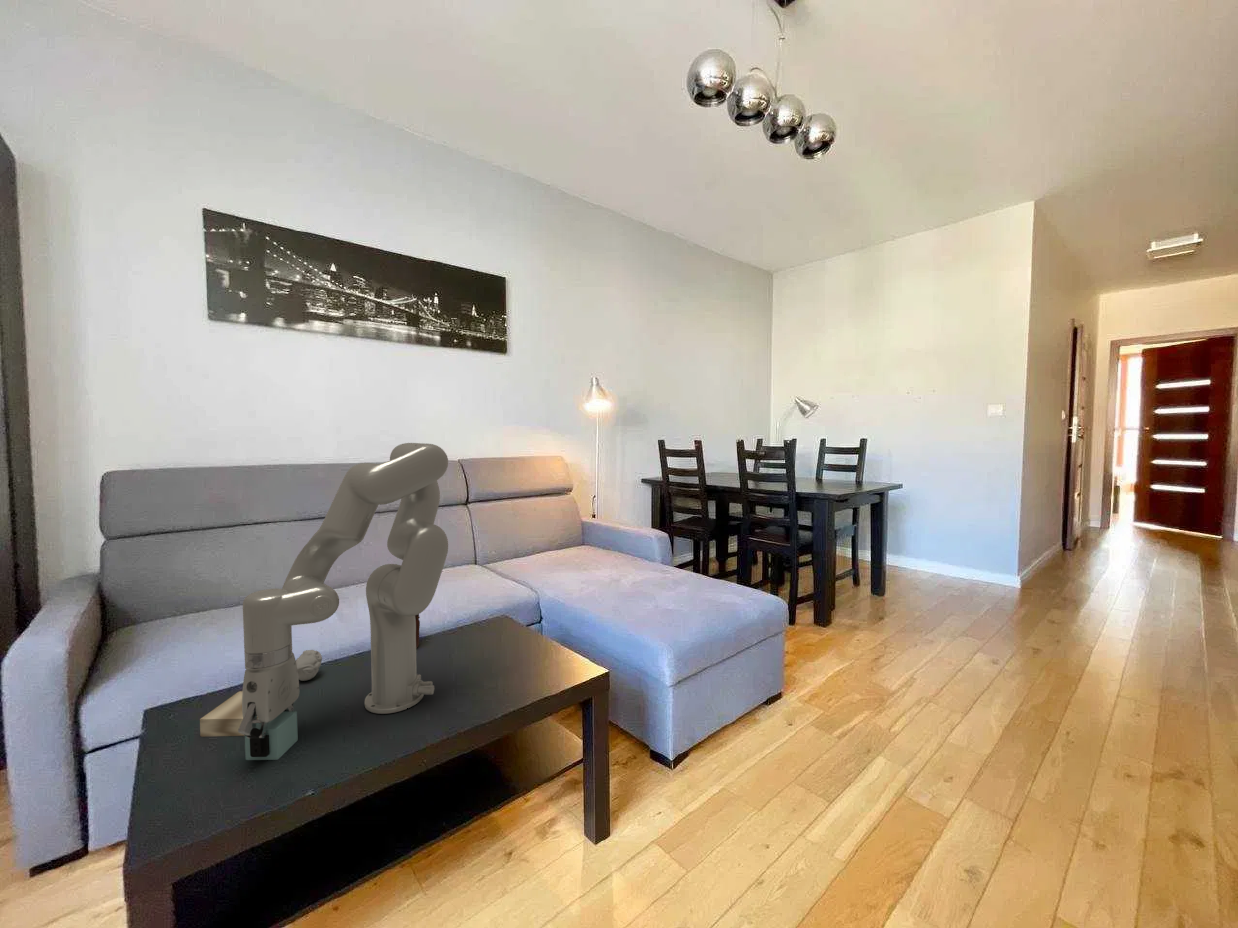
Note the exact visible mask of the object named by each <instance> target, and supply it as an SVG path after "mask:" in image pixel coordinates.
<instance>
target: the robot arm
mask: <svg viewBox="0 0 1238 928" xmlns="http://www.w3.org/2000/svg"><path fill="white" fill-rule="evenodd" d="M448 466H449V458H448V455H447V453H446V452H445V450H444V449H443V448H442V447H440V446H439V445H436V444H433V443H423V442H422V443H420V442H419V443H418V442H405V443H401V444H398V445H397V446H395V447H394V448H393V449H392V450H391V452H390V455H389V460H388V461H385V462H381V463H373V462H371V463H370V462H361V463H357V464H355V465H352V466H351V467H350V468H349V469H348V470H347V471H346V473H345V475H344V477H343V479H342V481H341V483H340V485H339V487H338V490H336V491H337V492H336V494H335V495H334V497H333V500H332V502H331V503H330V506H329V508H328V511H327V513H326V515H325V517H324V519H323V521H322V523H321V525H320V526H319V528H318V530H317V531H316V532H315V533H314V534H313V535H312V536H311V538H310V539H309V540H308V542H307V543H306V544H305V545H304V547H302V548H301V550H300V551H299V553H298V555H297V556H296V558H295V560H294V562H293V563H292V565H291V567H290V569H289V572H288V574H287V576H286V578H285V580H284V582H283V585H282V588H265V589H261V590H258V591H254V592H251V593H250V594H248V595H246V596H245V597H244V598H243V601H242V623H243V624H242V625H243V626H242V627H243V650H244V653H243V654H244V669H245V670H244V675H243V681H242V682H243V683H242V691H243V693H242V713H243V720H242V722H241V725H240V727H239V729H238V732H239V733H241V734H244V735H245V736H247V738H250V756H251V757H267V756H268V755H269V735H266V732H267V727H268V722H271V721H272V720H274V719H275V718H276V717H277V716H278V715H280V714H281V713H282V712H283V711H294V704H295V702H296V701H297V700H298V698H299V697H300V681H299V679H298V670H297V664H296V660H297V659H296V657H295V654H294V652H293V631H292V629H293V628H292V626H298V625H299V626H300V625H308V624H316V623H320V622H323V621H326V620H328V619H329V618H330V617H332V616H333V615H334V614H335V613H336V611H338V608H339V605H340V598H339V594H338V593H337V591H336V590H335V589H334V588H332V586H329V585H328V584H326V583H325V580H326V578H327V576H328V574H329V572H330V570H331V568H332V567H333V565H334V564H335V562H336V561H337V559H339V557H340V556H341V555H342V554H343V553H345V552H347V551H348V550H350V549H351V548H353V547H356V546H358V544H360V543H361V542H362V541H363V540H364V539H365V537H366V534H367V532H368V530H369V527H370V524H371V523H372V520H373V517H374V515H375V514H376V511H377V510H378V507H379V506H380V505H387V504H388V505H389V504H391V503H394V502H397V501H399V500H400V502H399V506H398V509H397V511H396V515H395V517H394V520H393V523H392V525H391V529H390V531H389V535H388V536H387V541H386V542H387V543H386V545H387V550H388V551H389V553H390V554H391V555H392V556H393V557H395V558H397V559H399V560H402V562H401V565H400V564H397V563H387V564H383V565H380V566H378V567H377V568H376V569H374V570H373V571H372V572H371V574H370V575H369V576H368V578H367V581H366V585H365V596H366V602H367V606H368V607H367V608H368V612H369V624H370V662H371V663H370V664H371V666H370V667H371V668H370V669H371V692H370V693H368V694H367V695H366V696H365V698H364V707H365V709H366V710H367V711H368V712H371V713H373V714H379V715H380V714H381V715H384V714H385V715H386V714H393V713H398V712H402V711H405V710H407V708H408V709H409V708H411V707H414V706H415V705H416V704H418V703H419V702H420V701H421V700H422V699H423V698H424V695H425V696H426V695H434V692H435V685H433V681H431V680H430V681H429V680H428V681H423V680H422V675H421V674H418V673H417V672H418V671H417V648H416V619H415V615H418V614H419V615H420V614H421V613H422V612H424V611H425V610H426V609H427V608H428V607H429V605H431V603H432V600H433V598H434V596H435V594H436V591H437V587H438V586H439V585H438V584H439V581H440V578H441V575H442V572H443V569H444V566H445V563H446V559H447V556H448V552H449V540H448V536H447V534H446V532H445V530H443V528H441V527H440V526H438V525H437V524H435V521H436V517H437V514H438V509H439V505H440V502H441V501H440V499H441V491H440V486H439V482H438V480H440V479H441V478H442V477H443V476H444V474H445V473H446V472H447V470H448ZM257 716H258V718H259V719H257ZM256 723H262V724H261V729H260V730H259V729H257V728H256ZM245 736H244V737H245Z"/></svg>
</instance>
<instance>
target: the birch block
mask: <svg viewBox="0 0 1238 928" xmlns="http://www.w3.org/2000/svg"><path fill="white" fill-rule="evenodd" d="M242 693H243V690H241V691H240V690H239V691H238V692H236V693H234V694H233V695H232V696H231V697H229V698H227V699H226V700H225V701H223V702H222V703H221V704H219V705H217V706H216V707H214V708H213V709H212V710H211V711H209V712H208V713H206V714H205V715H204V716H202V717H201V718H199V730H200V732H199V735H200V737H203V738H204V737H245V735H244V734H241V733H239V732H238V729H239V727H240V725H241V722H242V720H243V713H242ZM257 719H258V716H257Z"/></svg>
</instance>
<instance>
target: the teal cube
mask: <svg viewBox="0 0 1238 928" xmlns="http://www.w3.org/2000/svg"><path fill="white" fill-rule="evenodd" d="M258 719H259V718H258ZM261 724H262V723H256V728H257V729H259V730H260V729H261ZM266 735H269V755H268V756H267V757H251V756H250V738H247V736H244V750H245V751H244V753H245V754H244V755H245V760H246V761H267V760H268V761H271V760H273V761H274V760H275V761H278V760H279V759H281V757H282V756H283V755H284V754H285V753H286V752H288V750H289V749H290V748H292V747H293V746H294V744H296V742H297V741H299V740H298V739H299V738H298V737H299V736H298V711H296V710H295V711H294V710H293V711H283V712H282V713H281V714H280V715H278V716H277V717H276V718H275V719H274V720H272V721H271V722H268V727H267V732H266Z"/></svg>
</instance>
